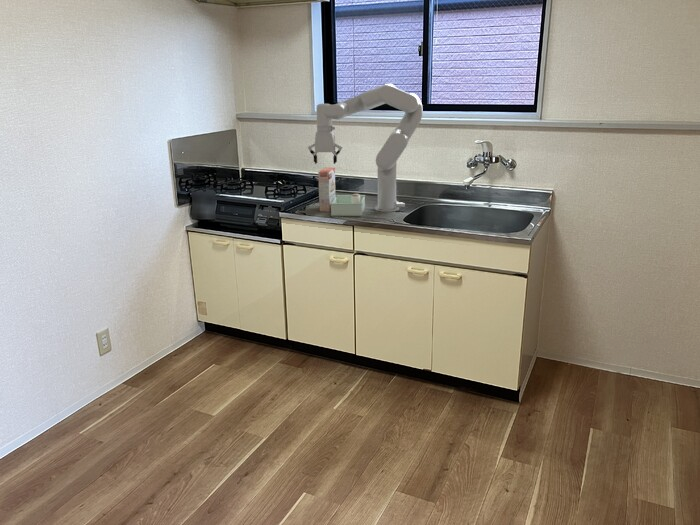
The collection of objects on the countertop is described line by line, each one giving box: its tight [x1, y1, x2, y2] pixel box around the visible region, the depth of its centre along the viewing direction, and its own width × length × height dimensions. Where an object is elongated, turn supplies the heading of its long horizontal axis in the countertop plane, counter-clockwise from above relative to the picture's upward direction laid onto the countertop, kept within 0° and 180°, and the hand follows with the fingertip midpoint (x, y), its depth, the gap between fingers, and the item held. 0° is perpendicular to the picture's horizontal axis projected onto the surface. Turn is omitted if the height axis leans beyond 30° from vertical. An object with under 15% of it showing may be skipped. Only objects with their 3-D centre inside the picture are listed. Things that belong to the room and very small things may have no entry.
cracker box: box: [317, 167, 336, 212], centre depth 295 cm, size 14×6×21 cm, turn 168°
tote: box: [330, 194, 366, 217], centre depth 290 cm, size 16×18×7 cm
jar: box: [351, 193, 361, 203], centre depth 289 cm, size 4×4×9 cm
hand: (325, 163), depth 290 cm, fingers open, 9 cm apart
